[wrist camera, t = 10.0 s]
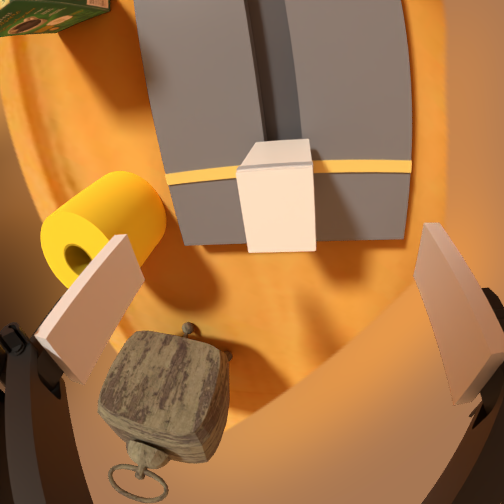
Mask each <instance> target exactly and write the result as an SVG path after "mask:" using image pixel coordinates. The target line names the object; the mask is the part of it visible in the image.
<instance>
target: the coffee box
mask: <svg viewBox="0 0 504 504" xmlns="http://www.w3.org/2000/svg"><path fill="white" fill-rule="evenodd" d="M109 11H110V0H0V37H5V36H14V35H26V34H42V33H57V32H59V31H61V30H64V29H66V28H69V27H70V26H72V25H75V24H77V23H80V22H82V21H84V20H87V19H90V18H93V17H95V16H98V15H100V14H103V13H106V12H109Z"/></svg>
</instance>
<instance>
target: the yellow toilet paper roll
mask: <svg viewBox="0 0 504 504" xmlns="http://www.w3.org/2000/svg"><path fill="white" fill-rule="evenodd" d="M165 229H166V212H165V208H164V205H163V203H162V201H161V199H160V197H159V195H158V194H157V192H156V191H155V189H154V188H153V187H152V186H151V185H150V184H149V183H148V182H147V181H145V180H144V179H143V178H141V177H139V176H138V175H135V174H133V173H130V172H125V171H115V172H111V173H108V174H106V175H105V176H103V177H102V178H100V179H99V180H97V181H96V182H94V183H93V184H91V185H90V186H88V187H87V188H86V189H84V190H83V191H81V192H80V193H79V194H77V195H76V196H74V197H73V198H72V199H70V200H69V201H68V202H66V203H65V204H64V205H62V206H61V207H60V208H58V209H57V210H56V211H55V212H53V213H52V214H51V215H49V216H48V217H47V218H46V219H45V221H44V223H43V225H42V228H41V245H42V250H43V253H44V256H45V258H46V261H47V262H48V265H49V266H50V268H51V270H52V271H53V273H54V274H55V275H56V277H57V278H58V279H59V280H60V281H61V282H62V283H63V284H64V285H65V286H66V287H67V288H68V289H69V288H70V286H71V285H72V284H73V283H74V282H75V280H76V279H77V278H78V277H79V275H80V274H81V273H82V272H83V271H84V269H85V268H86V267H87V266H88V265H89V264H90V262H91V261H92V260H93V259H94V258H95V257H96V255H97V254H98V253H99V252H100V251H101V250H102V249H103V248H104V246H105V245H106V244H107V243H108V242H109V241H110V240H111V239H112V238H113V236H114V235H122V234H127V235H128V238H129V241H130V243H131V246H132V249H133V251H134V254H135V256H136V259H137V261H138V264H139V266H140V268H141V266H142V265H143V263H144V262H145V261H146V259H147V258H148V256H149V255H150V254H151V252H152V251H153V250H154V248H155V247H156V245H157V244H158V243H159V241H160V240H161V239H162V237H163V235H164V233H165Z"/></svg>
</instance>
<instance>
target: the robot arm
mask: <svg viewBox="0 0 504 504" xmlns="http://www.w3.org/2000/svg"><path fill="white" fill-rule="evenodd" d="M413 276H414V279H415V281H416V284H417V286H418V289H419V292H420V294H421V297H422V300H423V302H424V305H425V308H426V311H427V314H428V316H429V319H430V322H431V325H432V328H433V331H434V334H435V337H436V341H437V344H438V347H439V351H440V354H441V357H442V361H443V364H444V368H445V372H446V376H447V380H448V383H449V387H450V391H451V396H452V401H453V405H454V406H455V405H459V404H463V403H468V402H472V401H473V400H474V399H475V398H476V396H477V395H478V394H479V393H481V397H482V401H481V402H480V404H479V405H478V406H477V407H476V408H475V409H474V410H473V411H472V412H471V414H470V415H469V417H472V416H473V415H474V414H475V415H474V417H473V419H472V421H471V423H470V425H469V427H468V429H467V431H466V433H465V435H464V437H463V439H462V441H461V443H460V444H459V446H458V448H457V450H456V452H455V453H454V455H453V457H452V459H451V460H450V462H449V463H448V465H447V467H446V468H445V470H444V472H443V473H442V475H441V476H440V478H439V479H438V481H437V482H436V484H435V485H434V487H433V488H432V490H431V491H430V492H429V494H428V495H427V497H426V498H425V499H424V501H423V502H422V504H500V503H501V504H504V307H503V305H502V303H501V301H500V299H499V298H498V296H497V295H496V294H495V293H494V292H492V290H490V289H489V288H481V287H480V286H479V284H478V282H477V280H476V279H475V277H474V275H473V273H472V272H471V270H470V268H469V267H468V265H467V264H466V262H465V260H464V259H463V257H462V255H461V254H460V252H459V251H458V249H457V248H456V246H455V245H454V243H453V242H452V240H451V239H450V237H449V236H448V234H447V233H446V231H445V230H444V228H443V227H442V226H441V224H440V223H424V225H423V231H422V236H421V242H420V247H419V252H418V257H417V262H416V266H415V271H414V275H413ZM144 281H145V278H144V276H143V274H142V271H141V269H140V266H139V264H138V261H137V259H136V256H135V254H134V251H133V249H132V246H131V243H130V241H129V238H128V235H127V234H122V235H114V236H113V238H112V239H111V240H110V241H109V242H108V243H107V244H106V245H105V246H104V248H103V249H102V250H101V251H100V252H99V253H98V254H97V255H96V257H95V258H94V259H93V260H92V261H91V262H90V264H89V265H88V266H87V267H86V268H85V269H84V271H83V272H82V273H81V274H80V275H79V277H78V278H77V279H76V280H75V282H74V283H73V284H72V285H71V286H70V288H69V289H68V290H67V291H66V293H65V294H64V295H63V296H62V297H61V298H60V299H59V300H58V301H57V302H56V304H55V305H54V307H53V309H51V310H50V312H49V313H48V315H47V316H46V317H45V318H44V320H43V321H42V323H41V324H40V325H39V327H38V328H37V329H36V331H35V332H34V334H33V335H32V337H31V338H30V339H29V338H28V337H27V336H26V334H25V333H24V331H23V330H22V329H21V327H20V326H19V325H18V324H17V323H15V322H13V323H10V324H8V325H7V326H5V327H4V328H3V329H2V330H1V331H0V382H1V383H2V384H3V385H4V386H5V393H4V392H3V391H2V390H1V389H0V504H93V501H92V498H91V496H90V492H89V490H88V486H87V483H86V480H85V477H84V473H83V470H82V466H81V463H80V459H79V455H78V451H77V447H76V443H75V438H74V434H73V429H72V424H71V419H70V413H69V407H68V401H67V394H66V387H65V382H64V380H63V379H62V378H61V376H62V374H63V373H65V374H66V375H67V376H68V377H69V379H70V380H71V381H73V382H77V383H79V384H82V385H85V383H86V381H87V379H88V377H89V375H90V373H91V371H92V369H93V368H94V366H95V364H96V362H97V360H98V358H99V357H100V355H101V353H102V351H103V349H104V348H105V346H106V344H107V342H108V341H109V339H110V337H111V335H112V334H113V332H114V330H115V328H116V327H117V325H118V323H119V322H120V320H121V318H122V317H123V315H124V313H125V312H126V310H127V308H128V307H129V305H130V303H131V302H132V300H133V298H134V297H135V295H136V293H137V292H138V290H139V289H140V287H141V285H142V284H143V282H144ZM501 501H502V502H501Z"/></svg>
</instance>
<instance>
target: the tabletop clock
mask: <svg viewBox="0 0 504 504" xmlns="http://www.w3.org/2000/svg"><path fill="white" fill-rule="evenodd" d="M182 330H183V332H184V335H183V337H180V336H175V335H169V334H164V333H158V332H153V331H137V332H135V333H134V334H133V335H132V336H131V337H130V338H129V339H128V340H127V341H126V343H125V344H124V346H123V347H122V349H121V350H120V352H119V354H118V355H117V357H116V359H115V360H114V362H113V364H112V366H111V368H110V370H109V372H108V374H107V377H106V379H105V382H104V384H103V386H102V389H101V392H100V396H99V400H98V413H99V414H100V416H101V417H102V418H103V419H104V420H105V422H106V423H107V424H108V425H109V426H110V427H111V428H112V429H113V431H114V432H115V433H116V434H117V435H118V436H119V437H120V438H121V439H122V440H123V441H125V442H126V448H127V453H128V455H129V456H130V458H131V459H132V460H133V461H134V462H135V463H137V464H139V465H138V466H134V465H129V464H119V465H116V466H113V467H112V468H111V469H110V470H109V473H108V477H109V481H110V483H111V485H112V487H113V488H114V489H116V491H118V492H119V493H120V494H122V495H124V496H126V497H128V498H130V499H133V500H135V501H139V502H143V503H156V502H159V501H162V500H163V499H164V498H165V497H166V496H167V494H168V486H167V484H166V483H165V481H164V480H163V479H162V478H161V477H159V476H158V475H156V474H155V473H153V472H151V471H149V470H147V468H150V469H158V468H161V467H163V466H165V465H166V464H167V463H168V462H169V461H170V460H175V461H180V462H185V463H204V462H208V461H209V459H210V458H211V457H212V456H213V455H214V453H215V451H216V449H217V448H218V446H219V443H220V441H221V438H222V435H223V432H224V429H225V426H226V422H227V415H228V408H229V361H230V360H231V359H232V354H231V352H229V351H224V352H222V351H220V350H219V349H217V348H215V347H214V346H212V345H210V344H207V343H204V342H200V341H196V340H192V339H188V334H191V333H192V332H193V331H194V326H193V324H191V323H189V322H187V323H184V324H183V326H182ZM116 469H128V470H132V471H136V473H135V477H136V478H138V479H144V477H145V475H147V476H149V477H152V478H154V479H155V480H157V481H158V482H160V483H161V484H162V485H163V487H164V493H163V494H162V495H160V496H159V497H155V498H143V497H139V496H136V495H133V494H131V493H128V492H126V491H124V490H123V489H121V488H120V487H119V486H118V485H117V484H116V483H115V481H114V480H113V477H112V474H113V472H114V471H115V470H116Z"/></svg>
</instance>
